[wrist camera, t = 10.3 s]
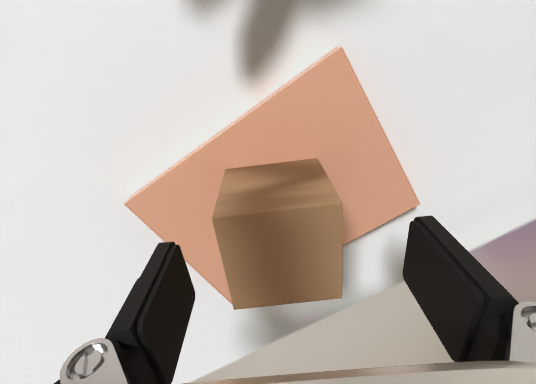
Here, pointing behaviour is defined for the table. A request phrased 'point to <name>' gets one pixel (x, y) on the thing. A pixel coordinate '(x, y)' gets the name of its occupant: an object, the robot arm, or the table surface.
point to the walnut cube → (279, 234)
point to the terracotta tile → (283, 150)
